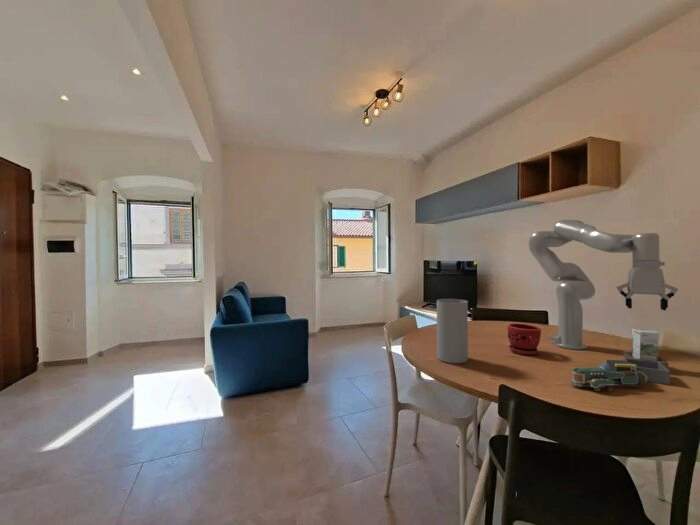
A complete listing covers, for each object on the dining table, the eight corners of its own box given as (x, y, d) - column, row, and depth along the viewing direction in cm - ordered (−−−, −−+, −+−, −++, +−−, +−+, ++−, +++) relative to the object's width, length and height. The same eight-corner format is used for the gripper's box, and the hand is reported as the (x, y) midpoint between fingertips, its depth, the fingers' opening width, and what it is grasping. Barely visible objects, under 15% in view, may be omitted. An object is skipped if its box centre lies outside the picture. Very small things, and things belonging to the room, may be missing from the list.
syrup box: (649, 364, 120) (649, 328, 120) (658, 370, 115) (659, 332, 114) (631, 363, 122) (631, 327, 122) (639, 368, 116) (640, 331, 116)
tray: (629, 378, 107) (629, 366, 107) (622, 369, 116) (622, 357, 116) (669, 384, 102) (670, 371, 102) (659, 374, 111) (659, 362, 110)
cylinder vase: (431, 359, 129) (431, 301, 128) (444, 352, 138) (444, 298, 138) (460, 366, 120) (460, 304, 120) (472, 358, 130) (472, 300, 129)
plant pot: (534, 358, 129) (535, 330, 128) (502, 351, 139) (502, 325, 138) (544, 352, 137) (545, 326, 137) (514, 346, 147) (514, 321, 147)
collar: (630, 368, 117) (630, 358, 117) (623, 360, 125) (623, 350, 125) (668, 373, 111) (668, 362, 111) (658, 364, 120) (658, 354, 120)
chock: (616, 381, 105) (616, 364, 105) (606, 376, 110) (606, 359, 110) (636, 382, 104) (636, 365, 104) (625, 377, 109) (625, 360, 109)
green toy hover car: (562, 381, 106) (562, 358, 106) (633, 380, 106) (633, 357, 106) (583, 393, 96) (583, 368, 96) (661, 393, 96) (661, 367, 96)
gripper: (673, 264, 116) (673, 309, 116) (614, 265, 125) (614, 306, 125) (681, 265, 110) (681, 312, 110) (618, 265, 119) (619, 308, 119)
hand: (646, 308), depth 118 cm, fingers open, 9 cm apart
